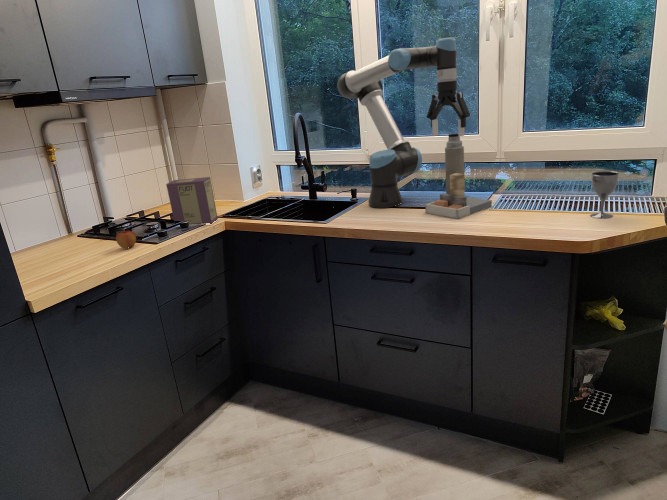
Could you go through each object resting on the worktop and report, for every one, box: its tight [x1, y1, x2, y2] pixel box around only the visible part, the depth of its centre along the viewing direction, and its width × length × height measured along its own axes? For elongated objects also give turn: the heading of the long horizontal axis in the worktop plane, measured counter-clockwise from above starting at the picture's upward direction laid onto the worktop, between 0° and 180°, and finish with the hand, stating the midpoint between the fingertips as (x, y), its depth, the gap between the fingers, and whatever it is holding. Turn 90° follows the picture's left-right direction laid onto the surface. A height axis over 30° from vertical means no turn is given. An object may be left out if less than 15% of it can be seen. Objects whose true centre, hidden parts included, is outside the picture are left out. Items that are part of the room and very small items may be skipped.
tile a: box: [434, 199, 448, 207], centre depth 189 cm, size 4×4×2 cm
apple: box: [115, 228, 137, 249], centre depth 187 cm, size 7×7×8 cm
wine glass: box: [589, 170, 620, 220], centre depth 163 cm, size 8×8×15 cm
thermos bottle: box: [444, 133, 465, 195], centre depth 208 cm, size 8×8×28 cm
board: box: [448, 196, 493, 215], centre depth 193 cm, size 16×14×3 cm
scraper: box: [439, 173, 467, 207], centre depth 188 cm, size 12×6×12 cm, turn 37°
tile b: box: [447, 204, 463, 209], centre depth 185 cm, size 4×4×2 cm
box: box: [165, 176, 219, 224], centre depth 211 cm, size 17×9×20 cm, turn 86°
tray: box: [424, 201, 471, 220], centre depth 187 cm, size 16×7×4 cm, turn 37°
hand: (448, 135), depth 192 cm, fingers open, 13 cm apart
